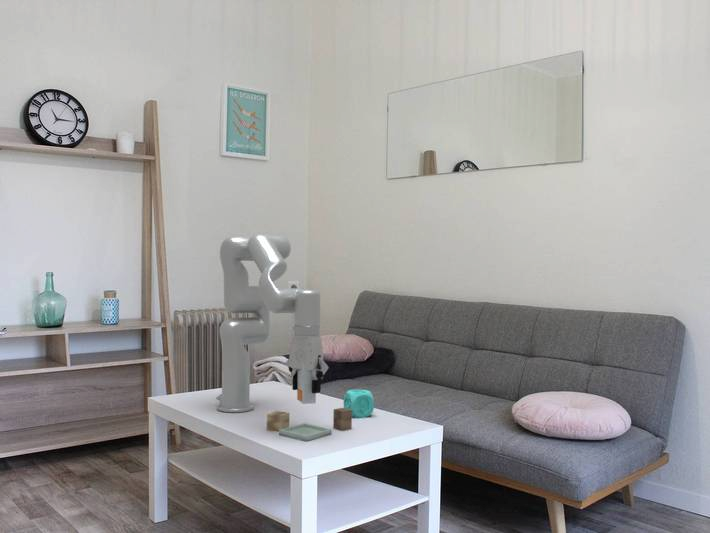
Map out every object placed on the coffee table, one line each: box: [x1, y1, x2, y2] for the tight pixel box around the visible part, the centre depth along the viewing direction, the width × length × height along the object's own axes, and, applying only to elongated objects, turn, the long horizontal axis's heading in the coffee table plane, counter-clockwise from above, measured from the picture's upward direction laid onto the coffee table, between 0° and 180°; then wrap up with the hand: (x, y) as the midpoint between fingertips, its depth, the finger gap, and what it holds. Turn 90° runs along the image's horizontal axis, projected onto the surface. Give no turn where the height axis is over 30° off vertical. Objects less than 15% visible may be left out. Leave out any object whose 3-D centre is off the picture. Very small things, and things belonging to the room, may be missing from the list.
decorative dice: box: [343, 389, 375, 419], centre depth 227 cm, size 8×8×8 cm
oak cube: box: [266, 410, 290, 433], centre depth 206 cm, size 5×5×5 cm
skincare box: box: [296, 363, 317, 405], centre depth 200 cm, size 6×4×12 cm
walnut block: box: [332, 407, 353, 432], centre depth 208 cm, size 4×4×6 cm
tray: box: [278, 422, 333, 442], centre depth 200 cm, size 11×11×2 cm
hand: (306, 390), depth 200 cm, fingers closed on skincare box, 7 cm apart
